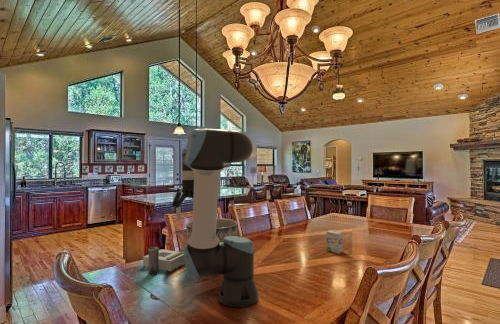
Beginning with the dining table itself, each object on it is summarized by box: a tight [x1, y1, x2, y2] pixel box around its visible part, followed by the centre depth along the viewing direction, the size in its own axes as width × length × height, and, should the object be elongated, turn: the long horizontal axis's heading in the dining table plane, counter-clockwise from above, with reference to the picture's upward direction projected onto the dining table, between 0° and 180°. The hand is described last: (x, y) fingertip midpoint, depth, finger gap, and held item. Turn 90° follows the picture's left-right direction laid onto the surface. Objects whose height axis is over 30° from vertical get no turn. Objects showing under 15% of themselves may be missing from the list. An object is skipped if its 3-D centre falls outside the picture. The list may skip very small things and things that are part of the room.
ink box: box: [325, 229, 344, 254], centre depth 171 cm, size 8×5×12 cm, turn 44°
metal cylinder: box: [147, 246, 160, 275], centre depth 136 cm, size 5×5×12 cm
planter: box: [185, 217, 239, 245], centre depth 145 cm, size 26×26×22 cm
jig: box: [142, 249, 185, 272], centre depth 148 cm, size 14×17×6 cm
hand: (189, 221), depth 144 cm, fingers open, 13 cm apart
